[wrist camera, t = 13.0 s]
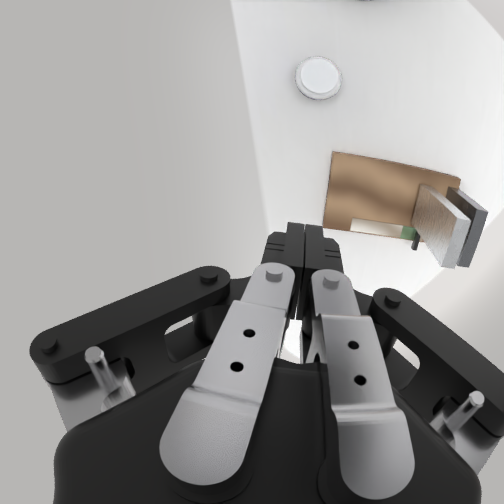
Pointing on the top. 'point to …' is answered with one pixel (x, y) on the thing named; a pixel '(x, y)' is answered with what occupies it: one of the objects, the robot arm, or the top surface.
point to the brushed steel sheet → (439, 226)
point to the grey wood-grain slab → (476, 225)
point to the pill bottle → (318, 78)
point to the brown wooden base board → (377, 195)
